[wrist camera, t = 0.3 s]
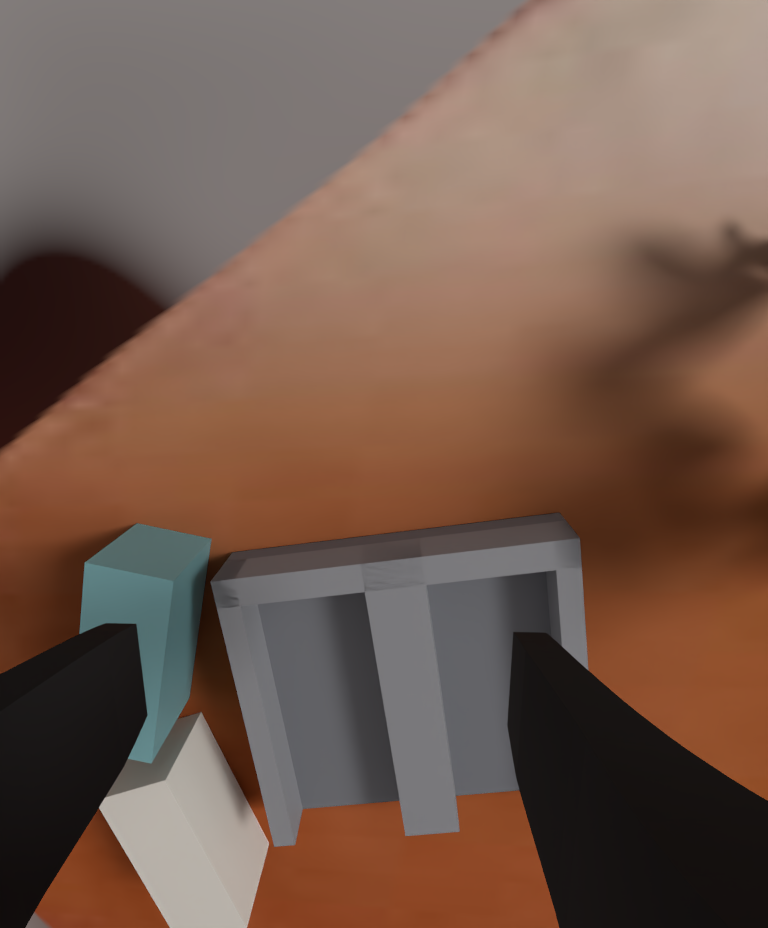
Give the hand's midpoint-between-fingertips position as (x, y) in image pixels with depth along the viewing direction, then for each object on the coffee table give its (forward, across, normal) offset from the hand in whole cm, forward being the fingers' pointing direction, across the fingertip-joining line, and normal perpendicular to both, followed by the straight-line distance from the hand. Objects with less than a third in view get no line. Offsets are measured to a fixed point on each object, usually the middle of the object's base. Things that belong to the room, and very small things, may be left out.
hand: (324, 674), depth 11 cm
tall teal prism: (+10, +8, +4) cm, 13 cm away
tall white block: (+10, +7, +13) cm, 17 cm away
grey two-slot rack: (+10, -2, +6) cm, 12 cm away
